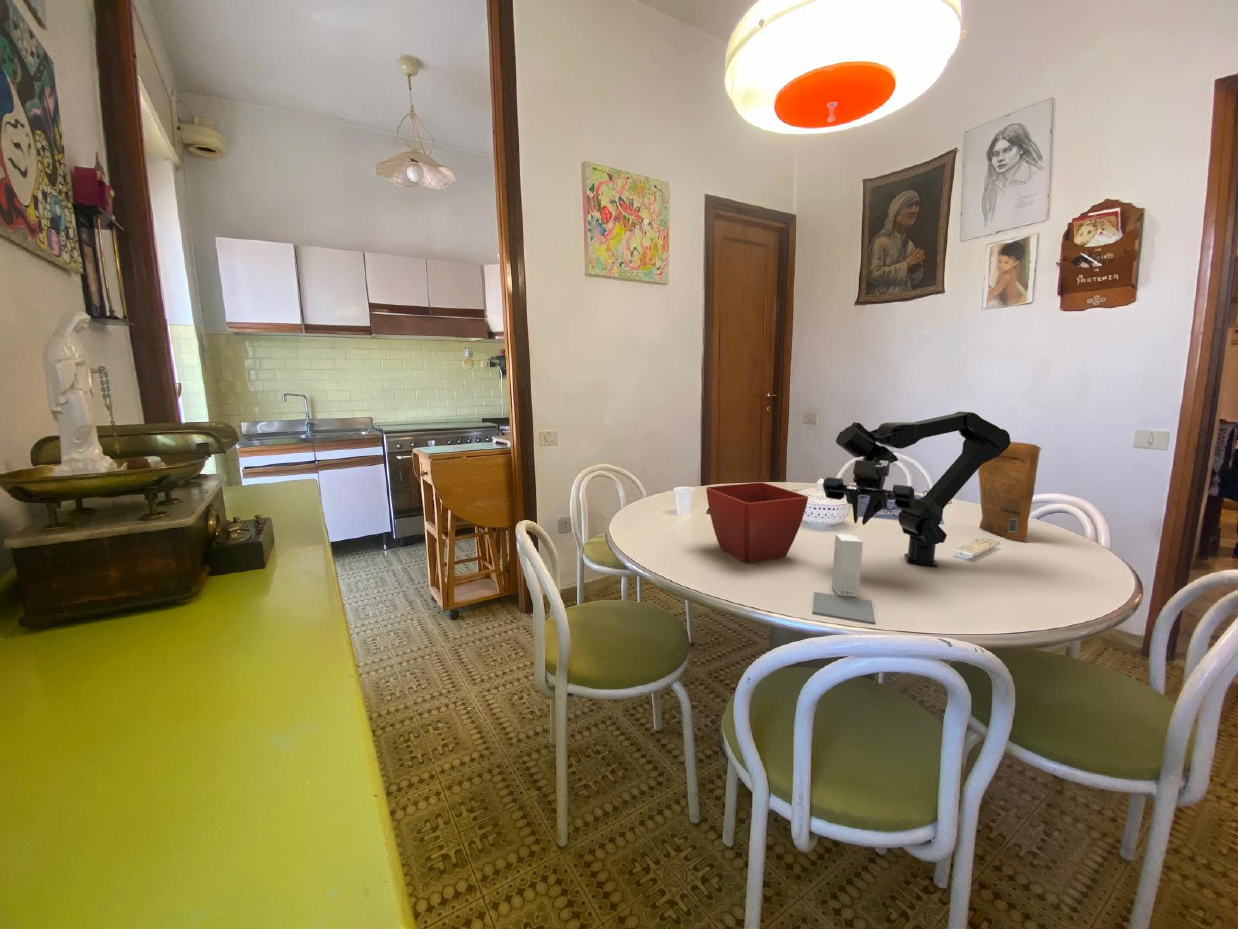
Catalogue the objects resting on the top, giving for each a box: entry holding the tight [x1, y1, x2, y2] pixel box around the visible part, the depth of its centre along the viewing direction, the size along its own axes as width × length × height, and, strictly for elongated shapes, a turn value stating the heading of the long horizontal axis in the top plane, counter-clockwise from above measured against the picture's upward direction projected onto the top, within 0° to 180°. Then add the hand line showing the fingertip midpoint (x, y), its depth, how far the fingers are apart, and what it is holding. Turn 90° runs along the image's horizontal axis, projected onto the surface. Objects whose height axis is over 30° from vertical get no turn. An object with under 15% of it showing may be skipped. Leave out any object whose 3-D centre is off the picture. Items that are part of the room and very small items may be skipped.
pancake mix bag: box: [977, 441, 1042, 543], centre depth 143 cm, size 7×19×28 cm, turn 5°
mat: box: [812, 591, 876, 625], centre depth 98 cm, size 10×11×1 cm
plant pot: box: [705, 482, 809, 563], centre depth 129 cm, size 19×19×17 cm
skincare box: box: [831, 533, 863, 598], centre depth 105 cm, size 6×4×12 cm
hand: (859, 523), depth 110 cm, fingers closed
